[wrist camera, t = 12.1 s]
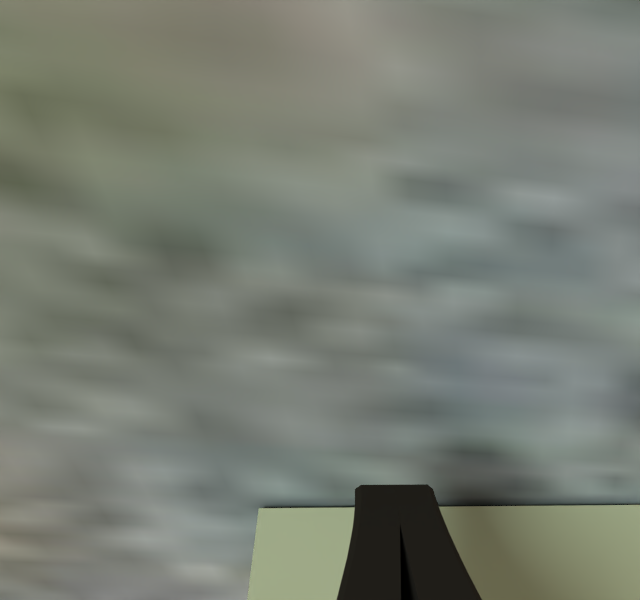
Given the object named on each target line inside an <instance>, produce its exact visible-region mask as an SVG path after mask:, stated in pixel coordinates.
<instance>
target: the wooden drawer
mask: <svg viewBox="0 0 640 600" xmlns="http://www.w3.org/2000/svg"><path fill="white" fill-rule="evenodd" d="M439 509H440V511H441V514H442V516H443V519H444V521H445V524H446V526H447V529H448V531H449V533H450V536H451V538H452V540H453V542H454V544H455V546H456V549H457V551H458V553H459V555H460V557H461V559H462V562H463V564H464V566H465V568H466V570H467V572H468V574H469V576H470V578H471V580H472V581H473V583H474V585H475V587H476V589H477V591H478V593H479V595H480V597H481V599H482V600H640V505H576V506H462V507H439ZM354 511H355V507H347V508H259V511H258V519H257V527H256V535H255V542H254V550H253V558H252V566H251V574H250V582H249V590H248V598H247V600H337V596H338V592H339V588H340V584H341V580H342V576H343V572H344V568H345V564H346V560H347V555H348V550H349V545H350V540H351V534H352V528H353V521H354Z"/></svg>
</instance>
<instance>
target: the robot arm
mask: <svg viewBox="0 0 640 600" xmlns="http://www.w3.org/2000/svg"><path fill="white" fill-rule="evenodd" d="M337 600H482V599H481V597H480V595H479V593H478V591H477V589H476V587H475V585H474V583H473V581H472V580H471V578H470V576H469V574H468V572H467V570H466V568H465V566H464V564H463V562H462V559H461V557H460V555H459V553H458V551H457V549H456V546H455V544H454V542H453V540H452V538H451V536H450V533H449V531H448V529H447V526H446V524H445V521H444V519H443V516H442V514H441V511H440V509H439V506H438V503H437V500H436V498H435V495H434V491H433V489H432V488H431V487H430V486H428V485H361V486H359V487H358V488H356V489H355V511H354V521H353V528H352V534H351V540H350V545H349V550H348V555H347V560H346V564H345V568H344V572H343V576H342V580H341V584H340V588H339V592H338V596H337Z"/></svg>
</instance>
